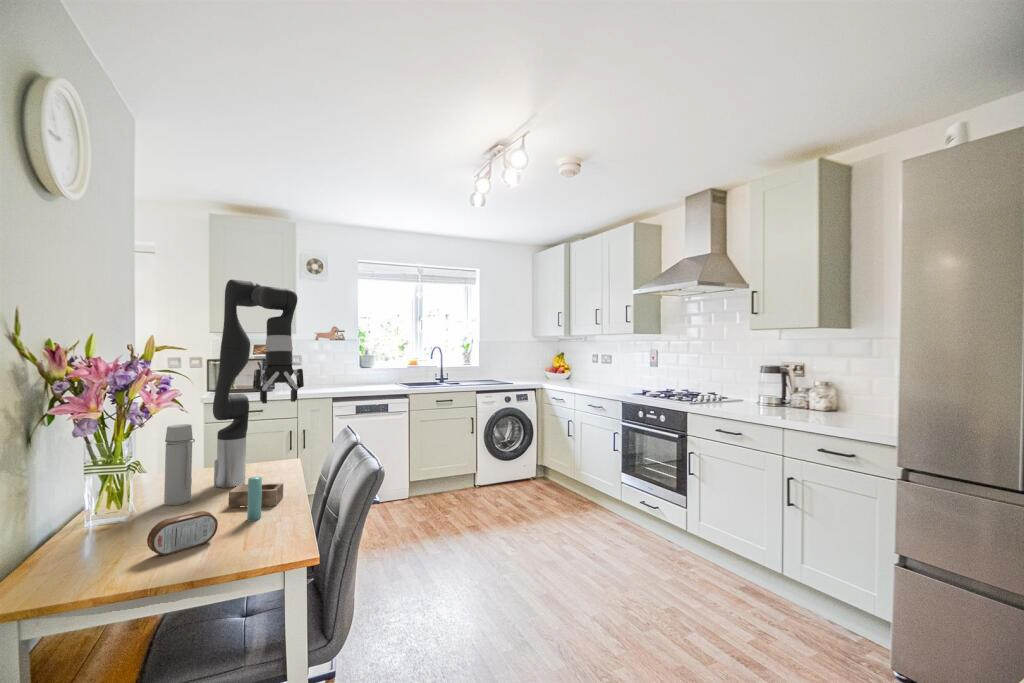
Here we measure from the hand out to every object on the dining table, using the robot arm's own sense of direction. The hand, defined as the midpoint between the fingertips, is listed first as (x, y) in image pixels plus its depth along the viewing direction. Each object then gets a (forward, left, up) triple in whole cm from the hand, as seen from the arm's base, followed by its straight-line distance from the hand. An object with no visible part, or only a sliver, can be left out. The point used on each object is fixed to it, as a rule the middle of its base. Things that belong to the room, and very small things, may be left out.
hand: (279, 402), depth 148 cm
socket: (-9, +10, -34) cm, 36 cm away
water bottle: (-33, +13, -34) cm, 49 cm away
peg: (-5, -5, -34) cm, 35 cm away
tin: (-15, -25, -34) cm, 45 cm away
